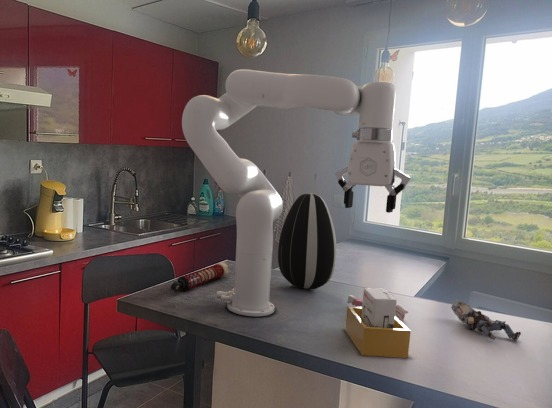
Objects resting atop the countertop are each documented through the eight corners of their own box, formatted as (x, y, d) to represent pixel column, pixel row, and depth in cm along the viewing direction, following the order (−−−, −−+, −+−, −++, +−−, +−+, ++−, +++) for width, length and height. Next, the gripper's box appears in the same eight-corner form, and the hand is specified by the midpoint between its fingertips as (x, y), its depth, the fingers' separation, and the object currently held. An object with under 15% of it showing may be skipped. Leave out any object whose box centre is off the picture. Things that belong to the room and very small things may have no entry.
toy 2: (486, 337, 104) (437, 306, 118) (508, 358, 109) (459, 326, 123) (505, 314, 104) (454, 286, 118) (527, 336, 109) (475, 306, 122)
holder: (361, 355, 96) (364, 327, 95) (345, 330, 109) (347, 306, 108) (407, 358, 95) (410, 330, 95) (385, 332, 109) (387, 308, 108)
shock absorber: (181, 285, 127) (235, 265, 152) (169, 275, 129) (225, 257, 154) (175, 298, 129) (230, 276, 154) (164, 289, 131) (220, 269, 156)
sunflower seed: (337, 290, 143) (345, 195, 139) (327, 297, 134) (336, 197, 131) (282, 278, 152) (288, 190, 149) (269, 285, 144) (276, 191, 141)
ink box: (357, 334, 107) (362, 286, 105) (379, 336, 106) (383, 287, 105) (369, 350, 98) (374, 298, 97) (392, 352, 98) (397, 299, 97)
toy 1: (340, 314, 122) (396, 337, 113) (344, 294, 120) (401, 316, 111) (353, 302, 128) (407, 323, 119) (356, 283, 126) (412, 304, 117)
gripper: (332, 135, 108) (327, 207, 110) (409, 136, 98) (402, 215, 99) (344, 137, 114) (339, 205, 116) (417, 138, 104) (410, 212, 105)
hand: (368, 209), depth 108 cm, fingers open, 9 cm apart
